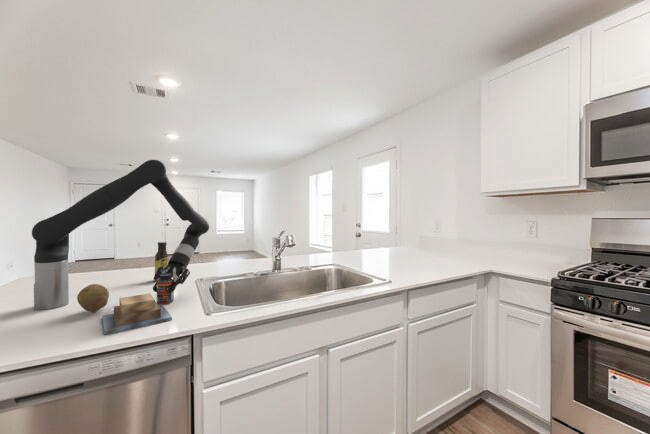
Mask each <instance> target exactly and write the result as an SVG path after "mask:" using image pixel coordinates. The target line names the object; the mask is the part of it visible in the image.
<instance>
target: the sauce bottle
mask: <svg viewBox="0 0 650 434" xmlns="http://www.w3.org/2000/svg"><path fill="white" fill-rule="evenodd" d="M167 245H168V243H167V241H158V242H157V251H156V253H155V257H154V258H155V259H154V275H155V274H156V272H157V270H158V268H159V267H161V268H165V267H166V266H167V265H168V262H169V260H170V257H169V255H168V251H167ZM157 278H158V277H157Z"/></svg>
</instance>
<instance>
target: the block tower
mask: <svg viewBox="0 0 650 434" xmlns="http://www.w3.org/2000/svg"><path fill="white" fill-rule="evenodd" d="M118 303H119V305H115V306H113V313H109V314H104V315H102V325H103V331H104V336H106V335H111V334H115V333H118V332H124V331H129V330H133V329H138V328H141V327H142V328H143V327H146V326H151V325H154V324H156V325H157V324H160V323H164V322H169V321H172V320H173V316H172V315H171V313H169V311H168V309H167V308H166V307H165V306H164V304H158V303H157V300H156V299H155V298H154V297H153V295H152V294H151V292H150V293H145V294H144V293H143V294H136V295H131V296H124V297H120V298H119V302H118Z"/></svg>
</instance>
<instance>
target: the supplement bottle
mask: <svg viewBox="0 0 650 434" xmlns="http://www.w3.org/2000/svg"><path fill="white" fill-rule="evenodd" d="M172 282H173V278H171V274H168V273H166V274H161V275H160V279H159V280H158V281H157V292H156V303H157V304H158V305H161V304H162V305H168V304H171V303H173V302H174V301H175V300H174V299H175V298H174V297H175V296H174V293H175V292H174V291H175V290H174V291H173V292H172V293H169V292H168V289H169V287H170V285H171V283H172Z"/></svg>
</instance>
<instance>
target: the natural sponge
mask: <svg viewBox="0 0 650 434" xmlns="http://www.w3.org/2000/svg"><path fill="white" fill-rule="evenodd" d="M109 297H110V293H109V290H108V288H107V287H106V286H104V285H102V284H97V283H94V284H93V283H92V284H89V285H87V286H85V287H84V288H82V289H81V290H80V291H79V292H78V293H77V296H76V299H77V303H78V304H79V305H80V307H81V308H82V309H83V310H84V311H86V312H88V313H95V312H98V311H100V310H101V309H102V308H104V307H105V306H107V304H108V301H109Z"/></svg>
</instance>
